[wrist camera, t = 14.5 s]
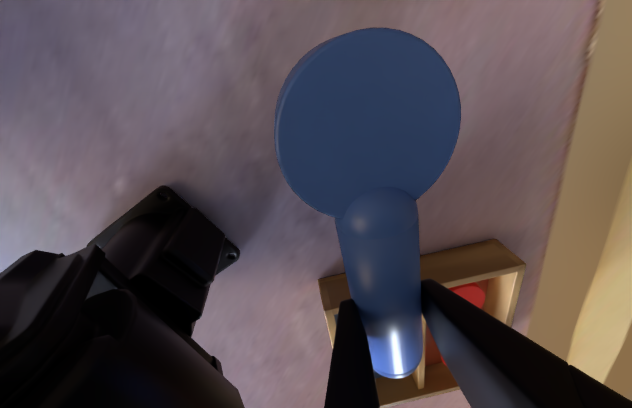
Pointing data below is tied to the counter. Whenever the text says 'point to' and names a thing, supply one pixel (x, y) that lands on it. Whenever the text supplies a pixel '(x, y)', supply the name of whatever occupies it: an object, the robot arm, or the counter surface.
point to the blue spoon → (372, 168)
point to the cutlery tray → (449, 270)
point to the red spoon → (469, 295)
